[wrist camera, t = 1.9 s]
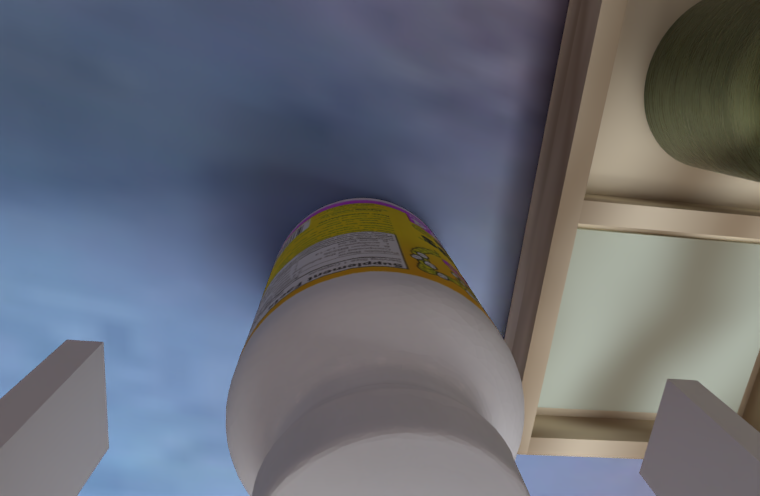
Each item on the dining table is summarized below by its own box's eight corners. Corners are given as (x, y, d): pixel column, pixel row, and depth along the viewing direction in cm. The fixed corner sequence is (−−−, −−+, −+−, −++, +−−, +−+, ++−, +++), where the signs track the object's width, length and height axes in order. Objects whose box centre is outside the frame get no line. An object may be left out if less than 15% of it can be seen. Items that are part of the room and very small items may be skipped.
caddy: (489, 415, 23) (507, 454, 20) (663, -490, 14) (729, -605, 12) (734, 426, 24) (778, 464, 22) (1028, -403, 15) (1153, -492, 13)
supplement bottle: (456, 333, 21) (613, 664, 9) (298, 367, 21) (244, 747, 9) (429, 175, 19) (586, 329, 7) (255, 211, 19) (110, 431, 7)
